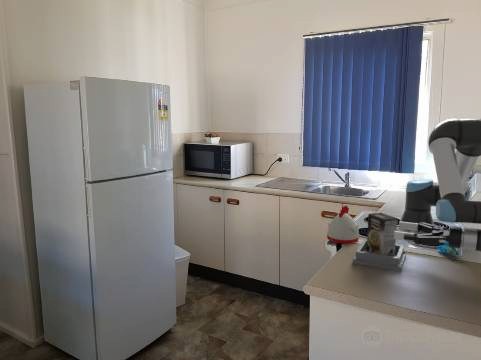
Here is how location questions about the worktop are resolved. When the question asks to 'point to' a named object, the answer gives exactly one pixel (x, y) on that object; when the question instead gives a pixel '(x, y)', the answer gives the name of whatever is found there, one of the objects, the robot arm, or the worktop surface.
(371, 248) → the coffee box
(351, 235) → the kitchen timer
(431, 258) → the worktop surface
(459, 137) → the robot arm
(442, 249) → the gear
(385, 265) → the housing
